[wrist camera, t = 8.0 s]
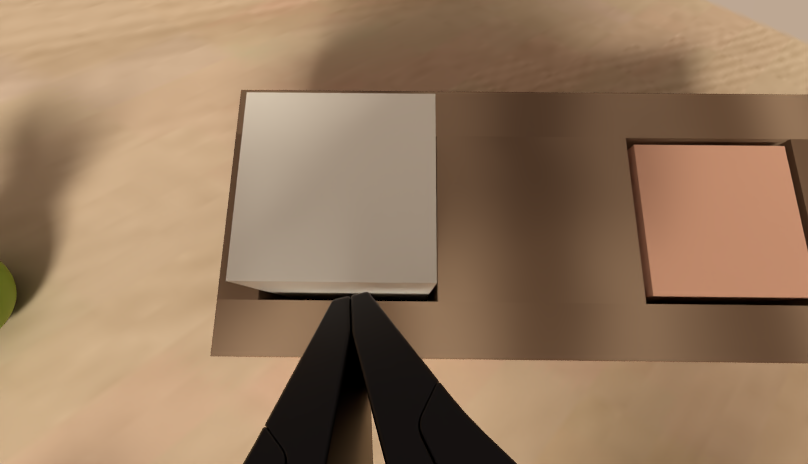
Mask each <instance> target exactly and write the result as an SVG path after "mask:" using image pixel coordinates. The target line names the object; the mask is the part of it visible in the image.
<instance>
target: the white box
mask: <svg viewBox="0 0 808 464" xmlns="http://www.w3.org/2000/svg"><path fill="white" fill-rule="evenodd" d="M226 281H228V282H232V283H236V284H240V285H243V286H247V287H251V288H255V289H259V290H263V291H266V292H270V293H274V294H278V295H282V296H285V297H289V298H311V299H338V298H342V297H346V296H349V297H350V298H351V297H352V295H355V294H359V293H363V292H369V293H370V294H371V296H372V297H373V298H374V299H403V300H425V299H426V298H427V296H428V295H429V293H430V292H431V291H432V289H433V288H434V286H435V285H436V284H437V248H436V115H435V94H397V93H276V92H247V95H246V104H245V113H244V122H243V131H242V140H241V149H240V158H239V167H238V175H237V184H236V193H235V202H234V211H233V220H232V229H231V238H230V247H229V256H228V265H227V274H226Z"/></svg>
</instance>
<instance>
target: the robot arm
mask: <svg viewBox="0 0 808 464" xmlns="http://www.w3.org/2000/svg"><path fill="white" fill-rule="evenodd" d="M371 410H372V414H373V418H374V422H375V426H376V429H377V433H378V437H379V441H380V445H381V449H382V452H383V456H384V460H385V464H517V463H516V462H515V461H514V460H512V459H511V458H510V457H509V456H508V455H507V454H506V453H505V452H504V451H503V450H502V449H501V448H500V447H499V446H498V445H497V444H496V443H495V442H494V441H493V440H492V439H491V438H489V437H488V436H487V435H486V434H485V433H484V432H483V431H482V430H481V429H480V428H479V427H478V426H477V425H476V423H475V422H474V421H473V420H472V419H471V418H470V417H469V416H468V415H467V414H466V413H465V412H464V411H463V410H462V408H461V407H460V406H459V405H458V404H457V403H456V401H455V400H454V399H453V398H452V397H451V396H450V394H449V393H448V392H447V391H446V389H445V388H444V387H443V385H442V384H441V383H439V381H438V379H437V378H436V377H435V376H434V374H433V373H432V372H431V371H430V369H429V368H428V367H427V365H426V364H425V363H424V362H423V360H422V359H421V358H420V357H419V355H418V354H417V353H416V351H415V350H414V349H413V348H412V346H411V345H410V344H409V343H408V341H407V340H406V339H405V338H404V336H403V335H402V334H401V332H400V331H399V330H398V329H397V327H396V326H395V325H394V324H393V322H392V321H391V320H390V318H389V317H388V316H387V315H386V313H385V312H384V311H383V310H382V308H381V307H380V306H379V305H378V303H377V302H376V301H375V299H374V298H373V297H372V296H371V294H370V293H369V292H363V293H359V294H355V295H352V297H351V298H350V297H349V296H346V297H342V298H338V299H335V300H333V301H332V302H331V304H330V306H329V307H328V309H327V311H326V313H325V315H324V317H323V319H322V320H321V322H320V324H319V326H318V328H317V330H316V331H315V333H314V335H313V337H312V339H311V341H310V343H309V344H308V346H307V348H306V350H305V352H304V354H303V355H302V357H301V359H300V361H299V363H298V365H297V367H296V368H295V370H294V372H293V374H292V376H291V378H290V379H289V381H288V383H287V385H286V387H285V389H284V391H283V392H282V394H281V396H280V398H279V400H278V402H277V403H276V405H275V407H274V409H273V411H272V413H271V415H270V416H269V418H268V420H267V422H266V424H265V426H266V427H264V428H263V429H262V431H261V433H260V435H259V436H258V438H257V440H256V442H255V444H254V446H253V447H252V449H251V451H250V453H249V454H248V456H247V458H246V460H245V461H244V463H243V464H373V450H372V421H371Z"/></svg>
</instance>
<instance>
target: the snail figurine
mask: <svg viewBox="0 0 808 464" xmlns="http://www.w3.org/2000/svg"><path fill="white" fill-rule="evenodd" d="M16 296H17V291H16V284H15V281H14V278H13V276H12V274H11V273H10V271H9V270H8V269H7V267H6V266H5V265H4V264H3V263H2V262H1V261H0V328H1V327H2V326H3V325H4V324H5V323H6V321H7V320H8V318H9V317H10V315H11V313H12V311H13V309H14V306H15V303H16Z"/></svg>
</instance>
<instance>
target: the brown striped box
mask: <svg viewBox="0 0 808 464" xmlns="http://www.w3.org/2000/svg"><path fill="white" fill-rule="evenodd" d="M247 92H276V93H397V94H435V115H436V248H437V284H436V285H435V286H434V288H433V289H432V291H431V292H430V293H429V295H428V302H416V301H376V302H377V303H378V305H379V306H380V307H381V308H382V310H383V311H384V312H385V313H386V315H387V316H388V317H389V318H390V320H391V321H392V322H393V324H394V325H395V326H396V327H397V329H398V330H399V331H400V332H401V334H402V335H403V336H404V338H405V339H406V340H407V341H408V343H409V344H410V345H411V346H412V348H413V349H414V350H415V351H416V353H417V354H418V355H419V357H420V358H421V359H492V360H578V361H663V362H749V363H808V298H806V299H793V300H779V301H765V302H752V303H738V304H724V305H690V304H646V297H645V289H644V281H643V273H642V265H641V257H640V249H639V241H638V233H637V225H636V217H635V209H634V201H633V193H632V185H631V177H630V169H629V161H628V153H627V150H628V149H629V148H631V147H632V146H633V145H723V146H785V150H786V155H787V159H788V164H789V168H790V173H791V178H792V182H793V187H794V191H795V196H796V200H797V205H798V209H799V214H800V218H801V223H802V227H803V232H804V236H805V241H806V245H807V250H808V95H781V94H660V93H539V92H418V91H297V90H241V97H240V105H239V114H238V123H237V131H236V140H235V149H234V157H233V166H232V175H231V183H230V192H229V201H228V209H227V218H226V227H225V235H224V244H223V252H222V261H221V270H220V278H219V287H218V296H217V304H216V313H215V322H214V330H213V339H212V348H211V356H236V357H302V355H303V354H304V352H305V350H306V348H307V346H308V344H309V343H310V341H311V339H312V337H313V335H314V333H315V331H316V330H317V328H318V326H319V324H320V322H321V320H322V319H323V317H324V315H325V313H326V311H327V309H328V307H329V306H330V304H331V302H332V301H325V300H305V298H289V297H285V296H282V295H278V294H274V293H270V292H266V291H263V290H259V289H255V288H251V287H247V286H243V285H240V284H236V283H232V282H228V281H226V274H227V265H228V256H229V247H230V238H231V229H232V220H233V211H234V202H235V193H236V184H237V175H238V167H239V158H240V149H241V140H242V131H243V122H244V113H245V104H246V95H247Z"/></svg>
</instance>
